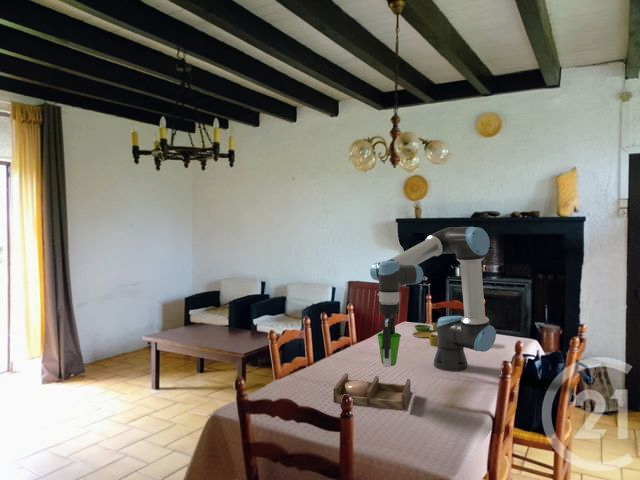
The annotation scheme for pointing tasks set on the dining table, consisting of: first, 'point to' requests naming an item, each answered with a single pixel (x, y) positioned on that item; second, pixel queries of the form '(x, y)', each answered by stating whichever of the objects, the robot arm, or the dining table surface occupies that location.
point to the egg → (356, 388)
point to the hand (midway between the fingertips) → (389, 362)
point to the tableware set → (427, 333)
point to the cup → (394, 346)
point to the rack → (377, 394)
